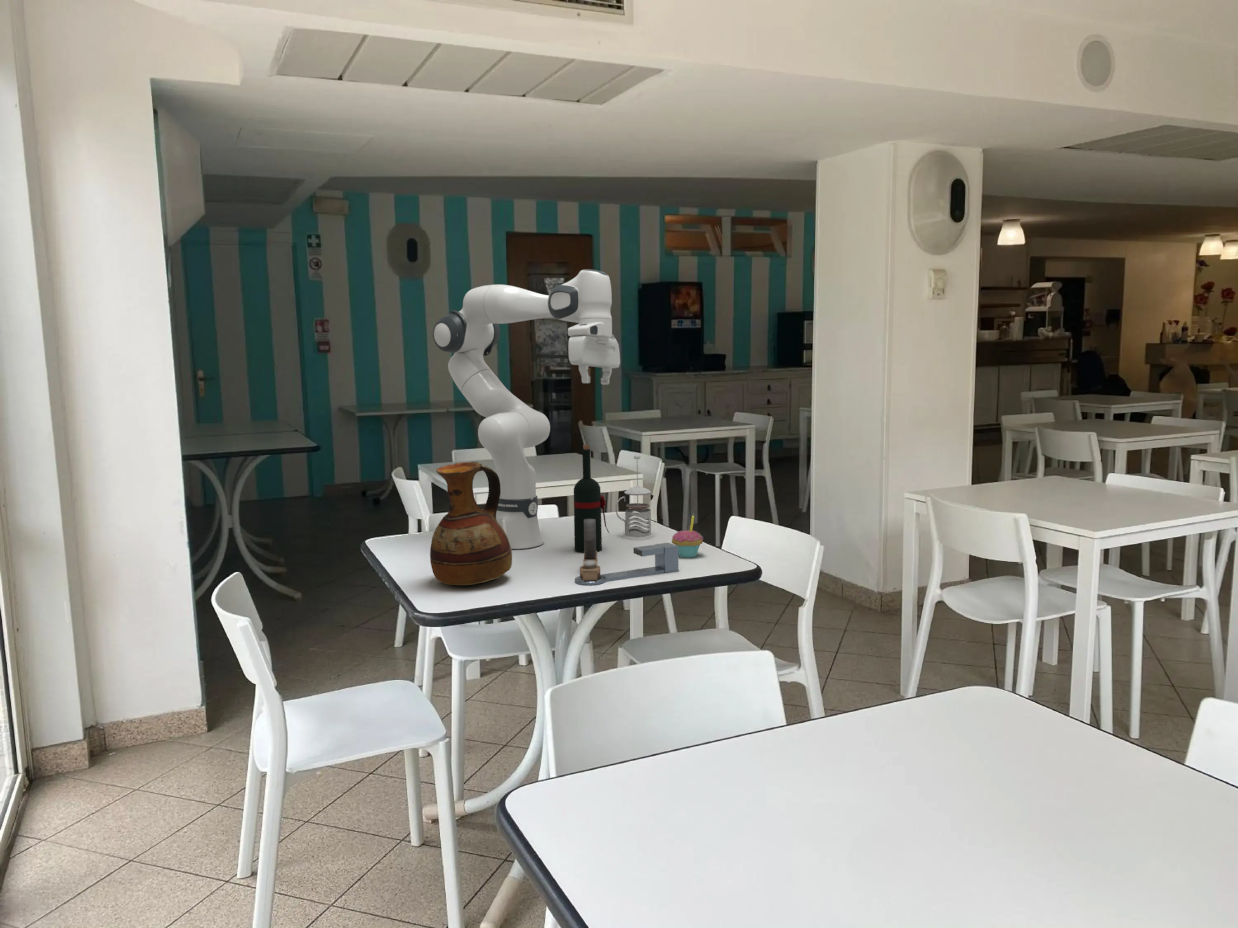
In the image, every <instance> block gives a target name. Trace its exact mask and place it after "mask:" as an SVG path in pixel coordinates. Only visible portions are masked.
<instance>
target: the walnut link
mask: <svg viewBox="0 0 1238 928" xmlns="http://www.w3.org/2000/svg"><path fill="white" fill-rule="evenodd" d="M582 560H583V562H582V566H580V567H579V576H580V578H581V579H583V581H590V580H597V579H599V578H600V575H601V566H600V565H598V552H597V551H596V520H595V519H584V553H583V559H582Z"/></svg>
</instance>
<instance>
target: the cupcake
mask: <svg viewBox="0 0 1238 928" xmlns="http://www.w3.org/2000/svg"><path fill="white" fill-rule="evenodd" d="M694 520H695V513H692V515H691V520H690V526H689V527H690V528H689V529H686V530H685V529H684V530H679V531H677V532H675V533H674V534H673V535H672V538H671V544H674V545H677V546H678V557H681V558H685V559H686V558H688V559H689V558H694V557H697V555H698V552H699V550H700V549H699V548H700V546H701V544H703V543H704V542H703V540H704V537H703V536H702V534H701V533H699V532H698V531H695V530H693V527H694V522H695V521H694Z"/></svg>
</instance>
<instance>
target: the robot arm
mask: <svg viewBox="0 0 1238 928" xmlns="http://www.w3.org/2000/svg"><path fill="white" fill-rule="evenodd" d="M610 279H611V278H610V276H609V274H608V273H606V272H605V271H601V270H597V269H591V268H590V269H589V268H586V269H584V268H583V269H582V270H580V271H579V272H578V274H577V275H576V276H575V277H573V278H572V279H570V280H568V281H567V282H565V283H562V284H558V285H556V286H554V288H552V290H551V291H550V293H549V295H547V294H542V293H538V292H536V291H531V290H528V289H525V288H521V287H518V286H514V285H509V284H508V285H507V284H488V285H487V284H485V285H481V286H478V287H477V286H476V287H474V288H472V289H470V290H468V291H467V292H466V293H465V295H464V297H463V301H462V308H461V310H459V311H458V310H456V309H452V310H451V311H449V312H448V313H447V314H446V315H444V316H442V317H441V318H439V319H438V320H437V321H436V322H435V324H434V326H433V328H432V339H433V342H434V344H435V346H436V348H437V349H439V350H441V351H443V352H446V353H449V354H450V353H452V354H453V355H452V356H451V357H450V359H449V361H448V363H447V368H448V369H447V370H448V372H449V374H450V376H451V378H452V380H453V382H454V384H455V385H456V387H457V389H458V390H459V391H460V393H461V394H462V395H463V396H464V398H465V399H466V401H467V402H468V403H469V405H470V406H472V407H471V408H473V409H474V411H475V412H476V413H477V414H479V415H480V416H482V417H484V418H483V420H481V422H480V423H479V426H478V429H477V431H478V432H477V436H478V441H479V443H480V444H481V445H482V447H483V448H484V449H485V450H486V451H487V452H489V454H490V456H491V458H492V462H493V464H494V466H495V472H496V473H497V475H498V477H499V480H500V488H501V494H500V498H499V504H498V508H497V512H496V520H497V522H498V523H499V524H500V526H501V527H502V528H503V530H504V531H505V533H506V535H507V537H508V540H509V543H510V547H511V550H520V549H531V548H535V547H538V546H541V545H543V544H544V542H543V538H542V535H541V531H540V526H539V519H538V510H539V509H538V508H539V502H538V501H539V500H538V496H537V487H536V485H537V484H536V480H537V479H536V469H535V468H534V467H533V465H531V464H529V462H528V460H527V458H526V455H525V450H524V449H527V448H533V447H536V446H538V445H541V444H542V443H543V442H545V441H547V439H548V438H549V436H550V432H551V424H550V420H549V419H548V417H547V416H546V414H544V413H543V412H540V411H538V410H536V409H534V408H532V407H531V406H528V405H527V404H526V403H525V402H524V401H522V400H521V399H519V398H518V397H517V396H516V395H514V394H513V393H512V392H511V391H510V390H509V389H508V388H507V387H506V386H505V385H504V384H503V382H502V381H501V380H500V378H499V377H498V376H497V375H496V374H495V372H494V371H493V370H492V369H491V368H490V367H489V366H488V364H487V363H486V361H485V359H484V357H485V356H489V355H490V354H491V353H492V351H493V348H494V347H495V346H496V344H497V343H498V341H499V339H500V334H501V330H500V324H501V325H504V324H513V323H519V322H520V323H521V322H526V321H530V320H531V321H532V320H539V319H540V320H541V319H557V320H559V321H564V322H571V323H577V324H575V325H572V326H571V327H568V328H567V335H568V336H569V338H568V348H567V349H568V351H567V352H568V360H569V363H570V364H571V365H573V366H578V371H579V373H580V376H581V383H582V384H590V383H591V376H590V375H589V371H588V370H589V367H592V368H593V367H594V368H600V369H601V368H602V372H603V374H602V377H600V384H601V385H603V386H606V385H607V386H608V385H610V378H611V375H612V372H613V369H618V368H620V365H621V355H620V346H619V342H618V341H617V339H616V337H615V335H614V334H613V317H612V314H611V309H612V308H611V307H612V304H613V301H612V298H613V297H612V283H611V280H610Z"/></svg>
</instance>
